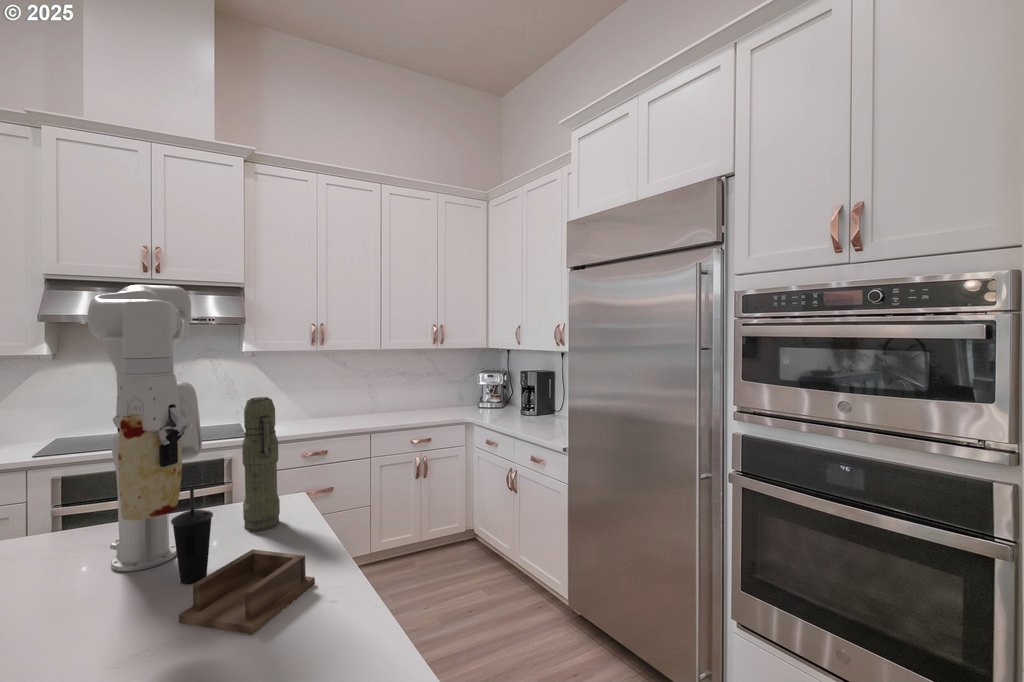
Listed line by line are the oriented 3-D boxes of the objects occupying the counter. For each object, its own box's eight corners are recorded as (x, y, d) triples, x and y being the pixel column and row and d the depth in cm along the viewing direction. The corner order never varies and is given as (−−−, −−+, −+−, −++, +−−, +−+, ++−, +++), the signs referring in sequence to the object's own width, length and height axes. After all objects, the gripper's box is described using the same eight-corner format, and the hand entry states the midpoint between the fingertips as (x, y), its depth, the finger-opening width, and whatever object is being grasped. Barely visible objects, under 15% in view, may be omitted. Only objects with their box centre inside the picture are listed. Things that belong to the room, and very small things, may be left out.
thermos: (268, 515, 147) (265, 394, 146) (288, 525, 140) (285, 398, 138) (235, 524, 140) (233, 398, 139) (255, 535, 133) (252, 402, 132)
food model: (126, 529, 88) (122, 414, 87) (114, 519, 92) (110, 410, 91) (189, 512, 96) (186, 406, 95) (175, 504, 100) (172, 403, 99)
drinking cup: (222, 574, 112) (220, 484, 111) (187, 591, 105) (185, 495, 104) (199, 567, 115) (197, 480, 115) (164, 583, 108) (162, 490, 108)
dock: (178, 622, 94) (178, 588, 94) (250, 575, 111) (250, 546, 111) (252, 634, 90) (251, 598, 90) (314, 584, 108) (314, 554, 107)
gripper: (90, 368, 91) (93, 465, 92) (168, 370, 87) (171, 472, 88) (131, 364, 99) (134, 455, 99) (205, 366, 94) (207, 461, 95)
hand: (151, 462), depth 93 cm, fingers closed on food model, 7 cm apart
